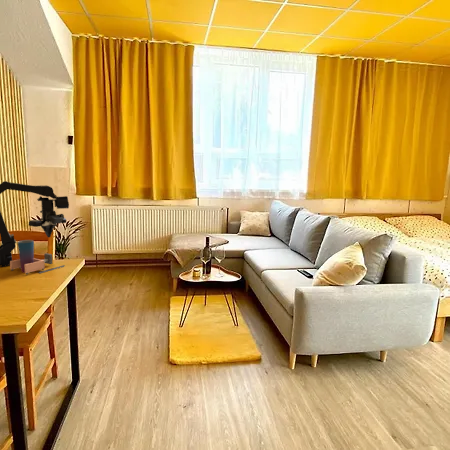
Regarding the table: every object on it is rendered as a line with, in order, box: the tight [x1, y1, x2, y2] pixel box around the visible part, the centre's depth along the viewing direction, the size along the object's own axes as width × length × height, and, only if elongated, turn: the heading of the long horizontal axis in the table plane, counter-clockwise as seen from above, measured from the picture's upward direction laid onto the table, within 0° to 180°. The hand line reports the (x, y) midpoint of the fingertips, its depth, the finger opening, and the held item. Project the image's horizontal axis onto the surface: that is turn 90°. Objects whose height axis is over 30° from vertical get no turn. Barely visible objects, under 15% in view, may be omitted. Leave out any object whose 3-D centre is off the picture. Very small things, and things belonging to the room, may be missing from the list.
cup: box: [17, 239, 35, 274], centre depth 162 cm, size 7×7×15 cm
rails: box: [19, 264, 66, 274], centre depth 170 cm, size 16×14×1 cm
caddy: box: [9, 252, 53, 275], centre depth 166 cm, size 17×12×6 cm
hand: (48, 237), depth 182 cm, fingers closed
